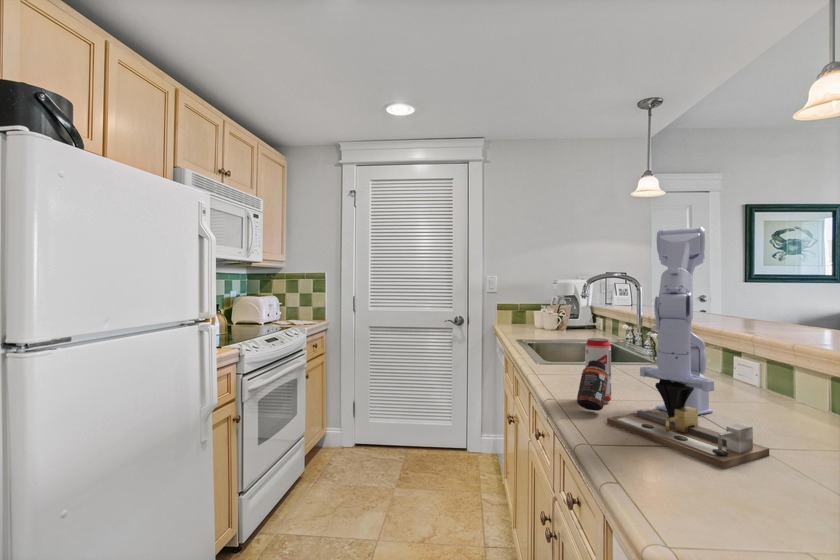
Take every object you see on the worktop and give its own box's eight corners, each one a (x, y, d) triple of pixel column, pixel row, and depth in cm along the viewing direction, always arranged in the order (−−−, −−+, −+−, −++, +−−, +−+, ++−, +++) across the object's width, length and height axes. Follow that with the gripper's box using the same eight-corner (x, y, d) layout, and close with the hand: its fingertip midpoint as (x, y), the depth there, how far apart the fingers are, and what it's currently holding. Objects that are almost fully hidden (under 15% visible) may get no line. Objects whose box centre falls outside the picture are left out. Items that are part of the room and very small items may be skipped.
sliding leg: (688, 426, 84) (687, 406, 84) (697, 429, 83) (697, 409, 83) (661, 432, 81) (661, 411, 81) (671, 435, 80) (671, 414, 80)
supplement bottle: (605, 406, 94) (612, 362, 100) (578, 397, 96) (587, 355, 102) (599, 414, 99) (606, 372, 105) (573, 405, 101) (582, 365, 107)
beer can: (609, 405, 103) (609, 341, 103) (582, 401, 106) (582, 339, 107) (612, 400, 108) (612, 339, 109) (587, 397, 112) (587, 337, 112)
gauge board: (648, 415, 96) (648, 392, 96) (769, 455, 74) (769, 425, 74) (607, 423, 91) (606, 399, 91) (723, 468, 69) (723, 437, 69)
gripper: (629, 348, 90) (630, 410, 90) (696, 359, 77) (697, 433, 77) (652, 346, 93) (653, 406, 93) (720, 356, 79) (721, 427, 79)
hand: (674, 418), depth 85 cm, fingers closed
